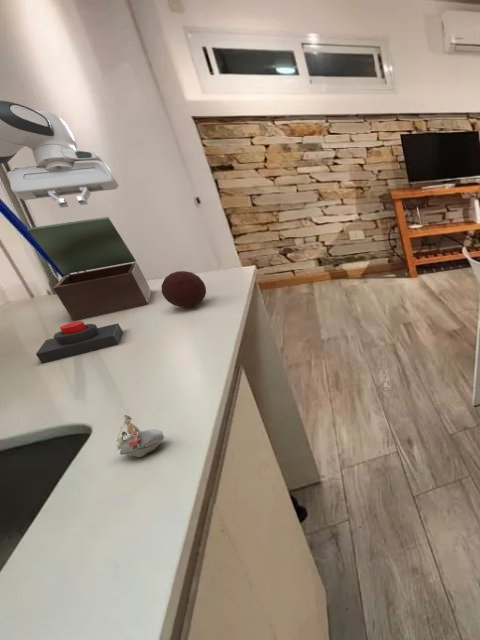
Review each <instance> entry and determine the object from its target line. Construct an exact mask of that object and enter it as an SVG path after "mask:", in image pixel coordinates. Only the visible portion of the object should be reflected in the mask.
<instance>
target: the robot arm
mask: <svg viewBox="0 0 480 640" xmlns="http://www.w3.org/2000/svg"><path fill="white" fill-rule="evenodd" d="M24 147H26V148H29V149H30V150H31V151H32V154H33V158H34V161H35V165H34V166H25V167H15V168H13V169H11V170H10V171H8V172H7V174H6V175H7V179H8V180H9V181H10V189H11V192H12V193H13V194H14V195H15V196H16V197H17V198H18V199H20V200H22V201H29V200H37V199H45V198H46V199H47V198H51V199H52V200H53V201H55V202H56V203H57V206H59V208H61V209H62V208H68V207H69V204H68V201H67V200H66V199H65V198H64V197H63V196H71V195H77V196H76V200H77V202H78V203H79V205H80V206H84V205H89V202H88V199H89V198H90V197H91V195H92V194H91V193H96V192H105V191H112V190H117V189H118V188H119V182H118V181H117V178H116V176H115V175H114V174H113V172H112V171H111V169H110V168H109V167H108V165H107V164H106V163H105V162H104V161H103V159H102V158H101V156H100V155H99V154H98V153H97V152H94V151H85V150H78V149H77V148H78V145H77V142H76V139H75V137H74V134H73V132H72V130H71V129H70V127H69V126H68V124H67V123H66V122H65V120H64V119H62V118H61V117H60V116H58V115H57V114H55V113H53V112H50V111H46V110H41V109H39V110H38V109H36V110H34V109H32V108H30V107H28V106H25V105H22V104H20V103H16V102H13V101H8V100H0V165H1V164H6V163H8V162H10V161H11V160H12V159H13V158H14V157H15V156H16V155H17V153H18V152H19V151H21V150H22V149H23V148H24ZM78 194H79V195H78Z"/></svg>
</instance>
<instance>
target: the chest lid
mask: <svg viewBox="0 0 480 640" xmlns="http://www.w3.org/2000/svg"><path fill="white" fill-rule="evenodd" d="M26 230H27V231H28V233H29V234H30V236H31V237H33V239H34V240H35V241H36V242H37V244H38V245H39V246H40V248H41V249H42V250H43V251H44V253H45V254H46V255H47V256H48V258H49V259H50V260H51V261H52V262H53V264H54V265H55V266H56V268H57V269H58V270H59V272H61V274H62V275H64V276H65V275H70V274H75V273H81V272H86V271H92V270H97V269H103V268H108V267H113V266H119V265H124V264H130V263H135V262H137V260H136V258H135V257H134V255H133V253H132V252H131V250H130V249H129V246H128V245H127V244H126V242H125V240H124V239H123V238H122V236H121V234H120V233H119V231H118V230H117V228H116V226H115V225H114V223H113V222H112V220H111V219H110V217H109V216H104V217H98V218H96V217H95V218H90V219H83V220H76V221H69V222H61V223H55V224H48V225H41V226H34V227H27V229H26Z"/></svg>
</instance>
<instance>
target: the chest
mask: <svg viewBox="0 0 480 640" xmlns="http://www.w3.org/2000/svg"><path fill="white" fill-rule="evenodd" d="M52 289H53V290H54V292H55V294H56V295H57V298H58V299H59V300H60V302H61V303H62V306H63V307H64V308H65V310H66V312H67V314H68V315H69V317H70V318H71V320H72V321H73V322H76V321H80V320H83V319H88V318H93V317H98V316H102V315H106V314H110V313H115V312H119V311H124V310H129V309H132V308H138V307H143V306H147V305H149V304H150V300H151V295H152V292H153V291H152V289H151V287H150V285H149V283H148V281H147V280H146V277H145V275H144V273H143V272H142V269H141V268H140V265H139V263H138V262H137V261H136V262H130V263H125V264H119V265H114V266H108V267H103V268H97V269H92V270H86V271H81V272H75V273H70V274H64V276H62V278H60V280H59V281H58V282H57V283H56V284H55V285H54V286H53V287H52Z"/></svg>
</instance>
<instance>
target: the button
mask: <svg viewBox="0 0 480 640" xmlns="http://www.w3.org/2000/svg"><path fill="white" fill-rule="evenodd" d="M85 324H86V323H84V321H82V320H76V321H73V322H68V323H66V324H63V325H61V326H60V327H59V329H60V331H62V332H63V334H64V335H66V334H72V333H76V332H79V331H82V330H85V329H87V328H86V326H85Z"/></svg>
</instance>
